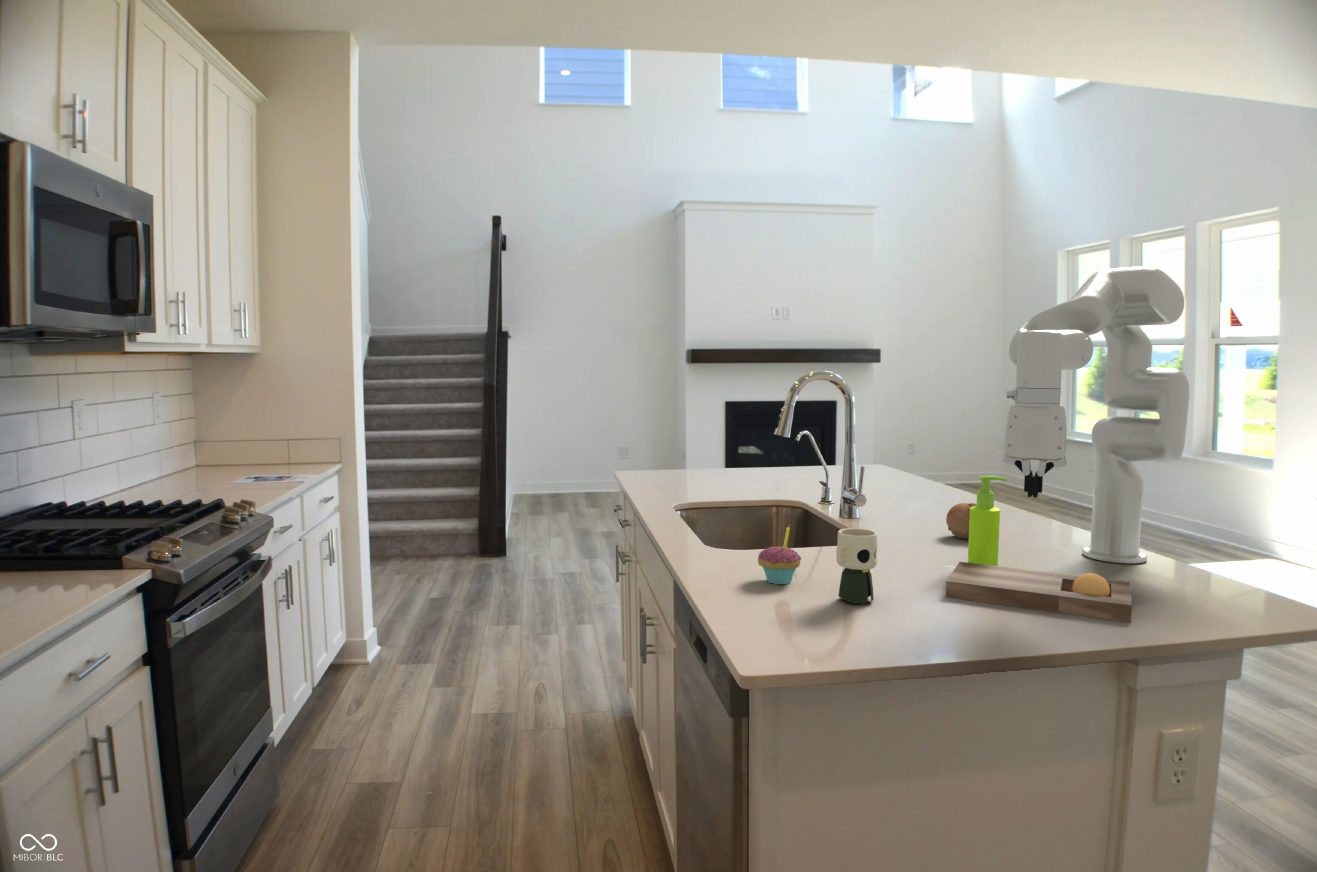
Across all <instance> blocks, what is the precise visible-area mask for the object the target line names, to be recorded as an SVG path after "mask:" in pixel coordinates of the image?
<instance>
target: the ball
mask: <svg viewBox="0 0 1317 872" xmlns="http://www.w3.org/2000/svg"><path fill="white" fill-rule="evenodd" d="M1077 576H1078V577H1077V578H1076V579H1075V581H1074V583H1073V586H1072V590H1073V592H1075V593H1083V594H1090V595H1098V596H1106V597H1109V596H1110V587H1109V584H1108V583H1107V581H1106V580H1105V579H1106V578H1104V577H1103V576H1101V575H1099V574H1097V573H1092V572H1086V573H1082V574H1080V575H1077Z"/></svg>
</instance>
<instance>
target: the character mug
mask: <svg viewBox="0 0 1317 872" xmlns="http://www.w3.org/2000/svg"><path fill="white" fill-rule="evenodd" d="M836 545H837V546H836V555H835V556H836V559H835V560H836V562H837V565H839V566H840V567H842V568H844V569H843V570H842V572H841V576H840V582H839V588H838V589H839V590H838V597H839V598H840V599H842V600H844V601H847V602H849V603H854V604H867V603H869V597H870V601H871V602H873V601H874V599H875V597H874V585H873V579H872V578H873V577H872V573H871V570H872V569H874V568H875V567H876V566H877V563H878V556H877V553H878V532H877V531H875V530H872V529H868V528H857V527H852V528H851V527H847V528H841V529H838V531H837V544H836Z"/></svg>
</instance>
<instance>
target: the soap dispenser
mask: <svg viewBox="0 0 1317 872" xmlns="http://www.w3.org/2000/svg"><path fill="white" fill-rule="evenodd" d="M977 479H978V480H979V481H981V488H980V489H979V490H977V491H976V503H975V504H976V506H972V507H970V520H969V539H968V545H967V546H968V547H967V548H968V549H967V563H976V564H984V565H992V566H999V564H998V563H999V543H1000V521H1001V520H1000V519H1001V508H998V507H996V506H995V491H993V490H991V481H1002V482H1007V480H1008V479H1007V478H1006V477H1002V476H999V475H978V478H977Z"/></svg>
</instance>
